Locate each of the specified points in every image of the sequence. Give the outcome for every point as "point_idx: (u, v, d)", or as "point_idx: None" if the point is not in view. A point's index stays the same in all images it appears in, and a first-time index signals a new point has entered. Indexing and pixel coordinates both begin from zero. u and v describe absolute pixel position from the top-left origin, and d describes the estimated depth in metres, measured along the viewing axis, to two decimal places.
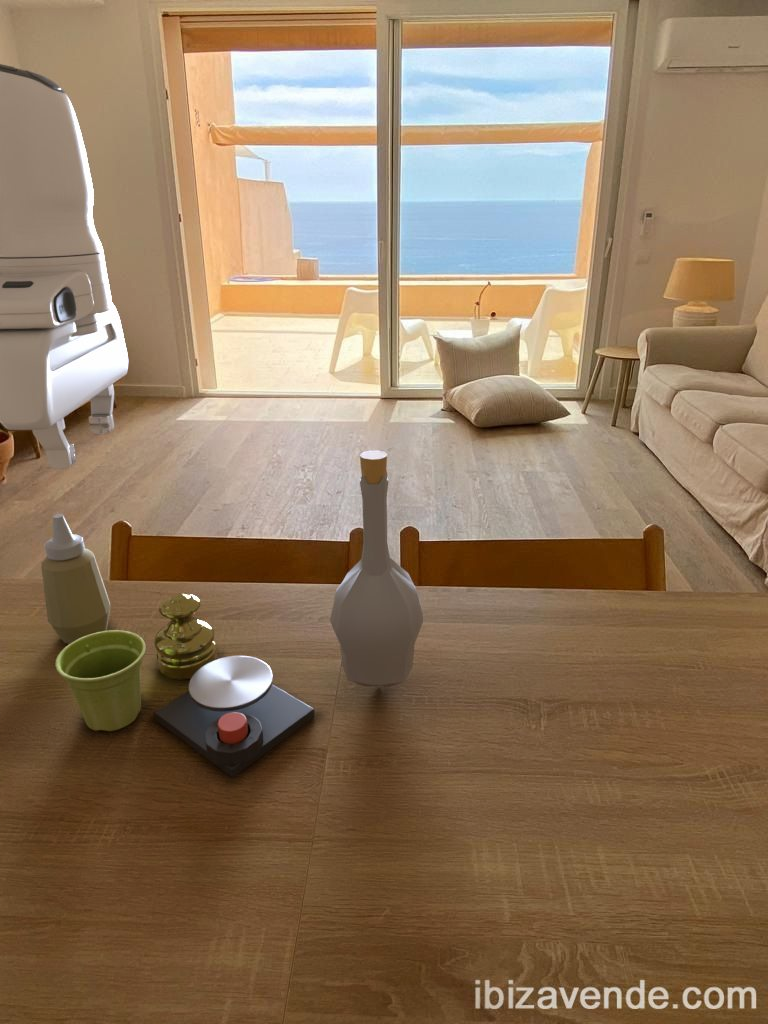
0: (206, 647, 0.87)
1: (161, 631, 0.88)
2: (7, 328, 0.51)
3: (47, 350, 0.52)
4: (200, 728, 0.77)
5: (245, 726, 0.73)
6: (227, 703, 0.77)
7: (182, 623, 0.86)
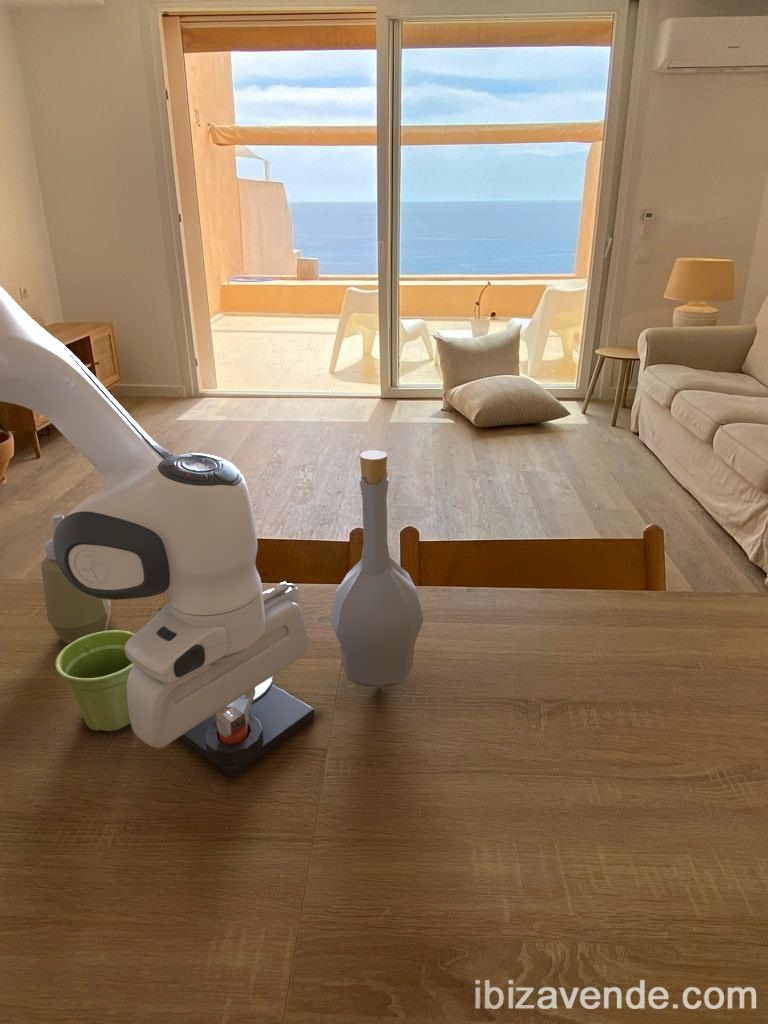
0: None
1: None
2: (145, 671, 0.63)
3: (164, 698, 0.62)
4: (200, 728, 0.77)
5: (246, 733, 0.73)
6: None
7: None
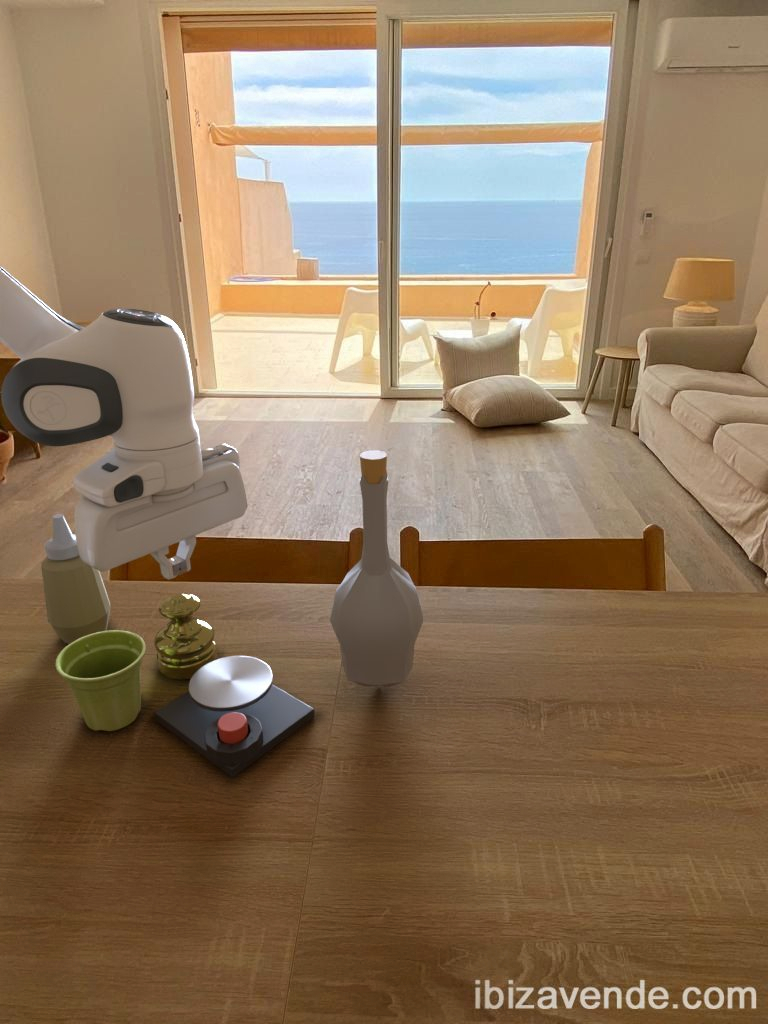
0: (206, 647, 0.87)
1: (161, 631, 0.88)
2: (90, 499, 0.71)
3: (105, 521, 0.70)
4: (200, 728, 0.77)
5: (245, 726, 0.73)
6: (227, 703, 0.77)
7: (182, 623, 0.86)
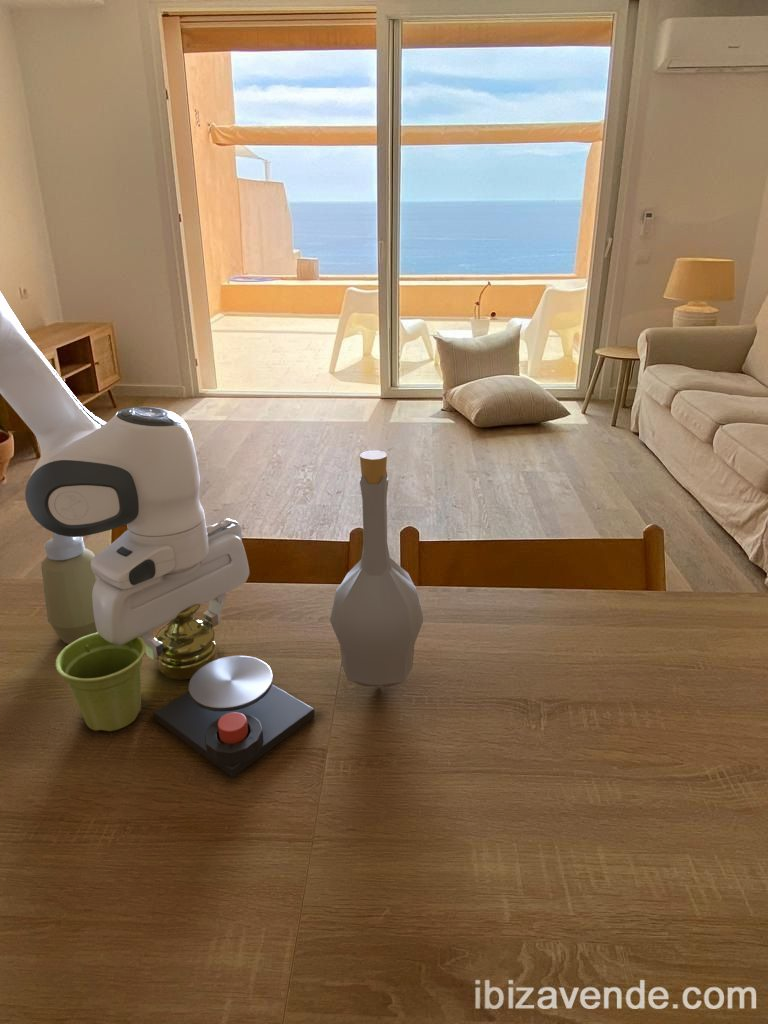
0: (206, 647, 0.87)
1: (161, 631, 0.88)
2: (106, 581, 0.77)
3: (121, 602, 0.77)
4: (200, 728, 0.77)
5: (245, 726, 0.73)
6: (227, 703, 0.77)
7: (182, 623, 0.86)
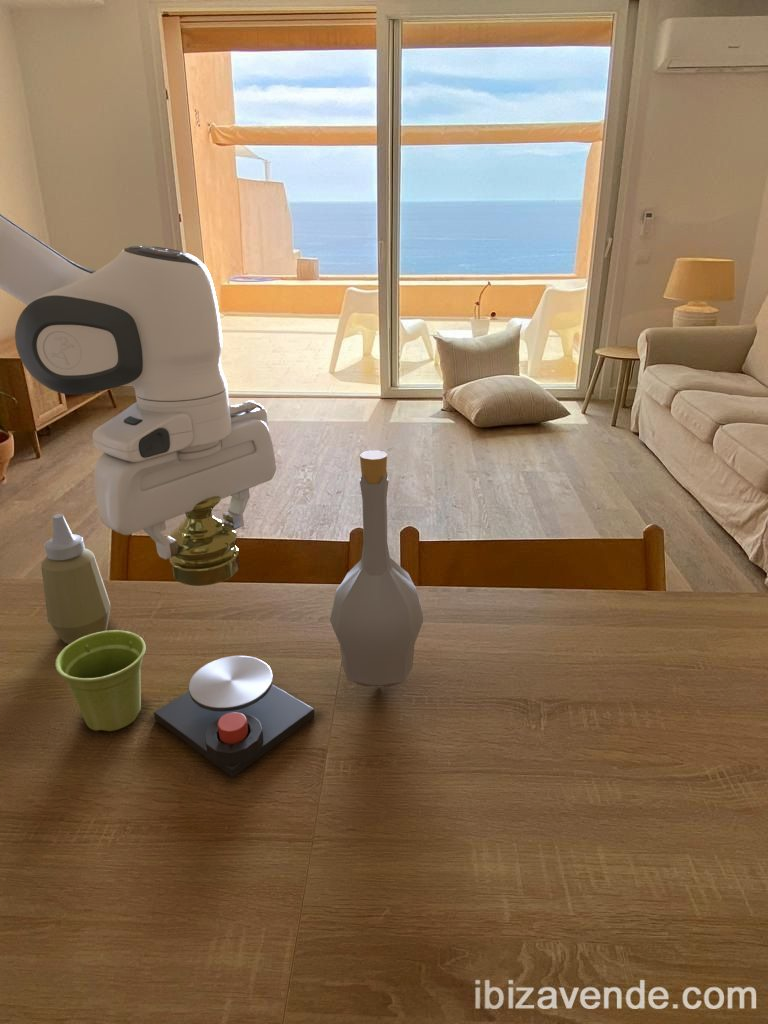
0: (228, 548, 0.74)
1: (175, 531, 0.75)
2: (111, 455, 0.65)
3: (130, 478, 0.64)
4: (200, 728, 0.77)
5: (245, 726, 0.73)
6: (227, 703, 0.77)
7: (200, 519, 0.73)
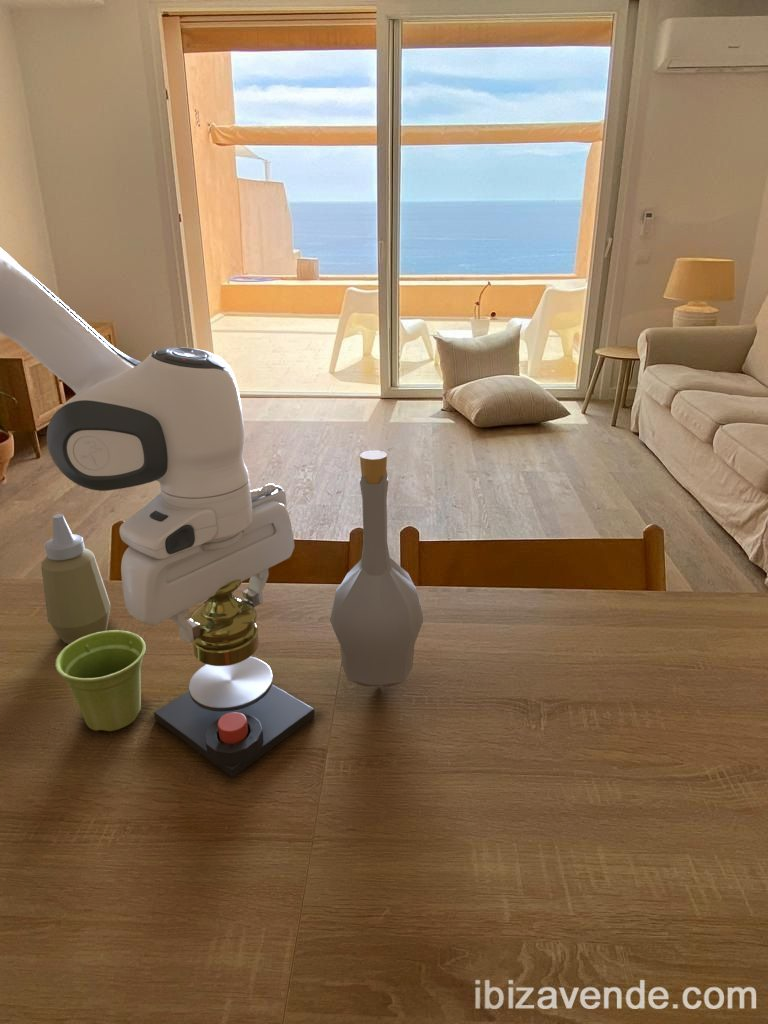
0: (248, 629, 0.76)
1: (196, 611, 0.77)
2: (138, 551, 0.67)
3: (156, 574, 0.66)
4: (200, 728, 0.77)
5: (245, 726, 0.73)
6: (227, 703, 0.77)
7: (221, 602, 0.75)
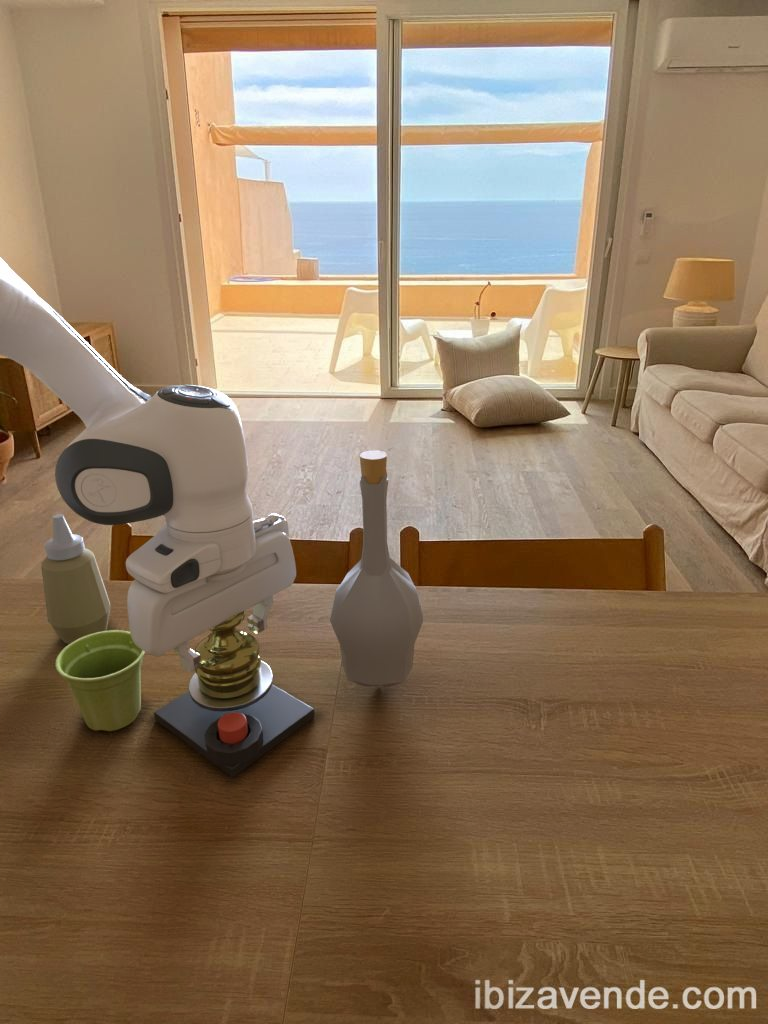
0: (251, 662, 0.78)
1: (201, 644, 0.79)
2: (144, 584, 0.68)
3: (161, 607, 0.67)
4: (200, 728, 0.77)
5: (245, 726, 0.73)
6: (227, 703, 0.77)
7: (225, 636, 0.77)
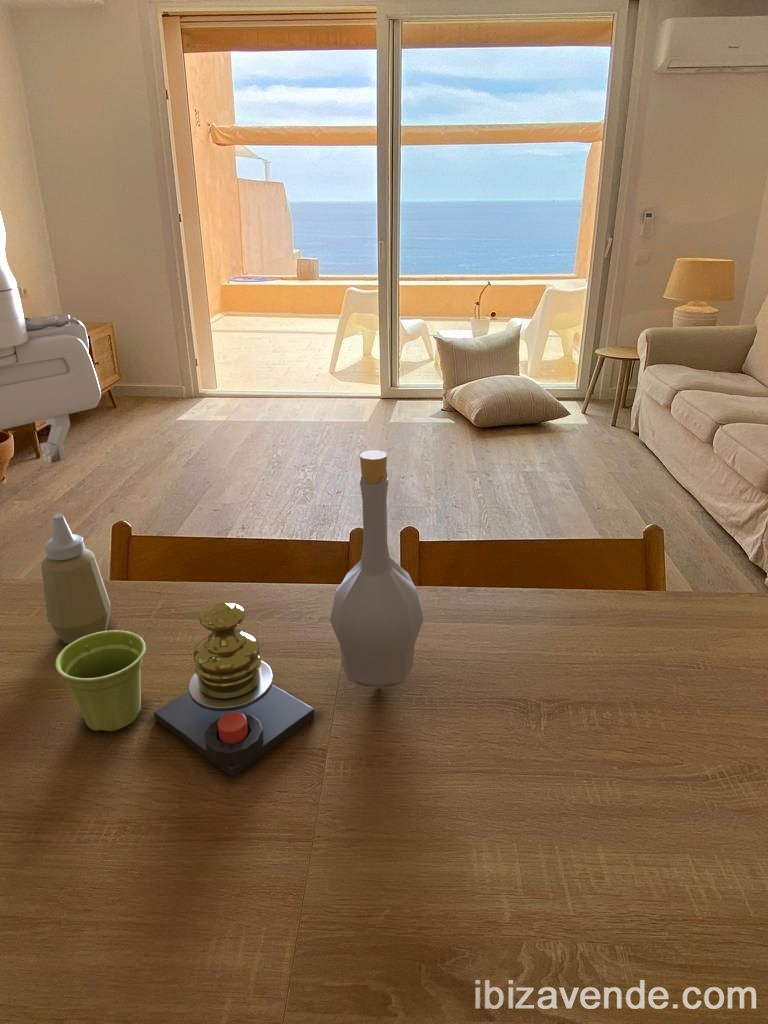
0: (251, 662, 0.78)
1: (201, 644, 0.79)
2: None
3: None
4: (200, 728, 0.77)
5: (245, 726, 0.73)
6: (227, 703, 0.77)
7: (225, 636, 0.77)
